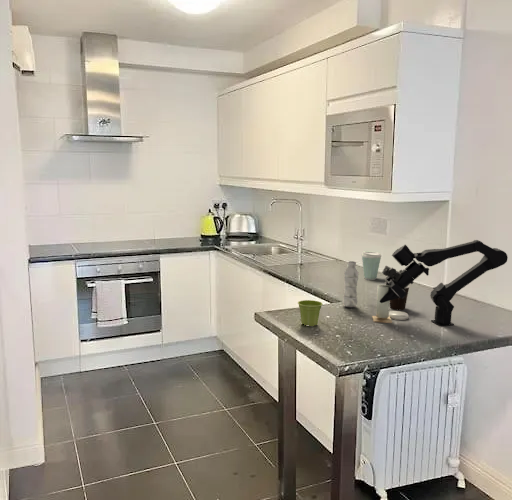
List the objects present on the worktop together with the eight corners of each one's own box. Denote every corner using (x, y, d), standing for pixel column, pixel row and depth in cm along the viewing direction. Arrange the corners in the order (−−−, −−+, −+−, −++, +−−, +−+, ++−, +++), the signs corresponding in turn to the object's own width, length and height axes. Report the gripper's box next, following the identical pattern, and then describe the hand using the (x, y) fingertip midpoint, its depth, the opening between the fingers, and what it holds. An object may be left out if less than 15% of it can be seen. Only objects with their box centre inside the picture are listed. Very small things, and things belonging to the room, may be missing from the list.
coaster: (389, 318, 211) (389, 316, 211) (391, 323, 204) (391, 321, 204) (372, 317, 212) (372, 315, 212) (373, 322, 205) (373, 320, 205)
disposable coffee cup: (379, 277, 291) (381, 251, 288) (380, 281, 280) (382, 254, 278) (360, 276, 292) (361, 250, 290) (360, 280, 282) (362, 253, 280)
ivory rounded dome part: (411, 319, 209) (411, 315, 209) (393, 320, 208) (393, 316, 207) (401, 314, 217) (402, 310, 217) (384, 314, 215) (384, 311, 215)
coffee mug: (392, 304, 232) (393, 282, 231) (410, 308, 227) (412, 285, 225) (380, 309, 223) (382, 287, 222) (399, 313, 218) (401, 290, 216)
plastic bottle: (340, 308, 225) (343, 262, 221) (343, 304, 231) (345, 260, 228) (355, 309, 222) (358, 264, 219) (358, 305, 229) (360, 261, 226)
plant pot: (296, 320, 204) (297, 299, 203) (320, 321, 204) (321, 300, 203) (297, 328, 195) (298, 305, 194) (322, 328, 195) (323, 306, 194)
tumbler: (390, 317, 206) (392, 287, 204) (379, 318, 205) (380, 287, 203) (385, 314, 210) (386, 284, 209) (373, 315, 209) (375, 284, 207)
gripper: (392, 255, 213) (363, 280, 216) (398, 263, 194) (367, 291, 197) (411, 275, 213) (382, 300, 216) (419, 285, 195) (387, 312, 198)
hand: (379, 300), depth 207 cm, fingers closed on tumbler, 5 cm apart
